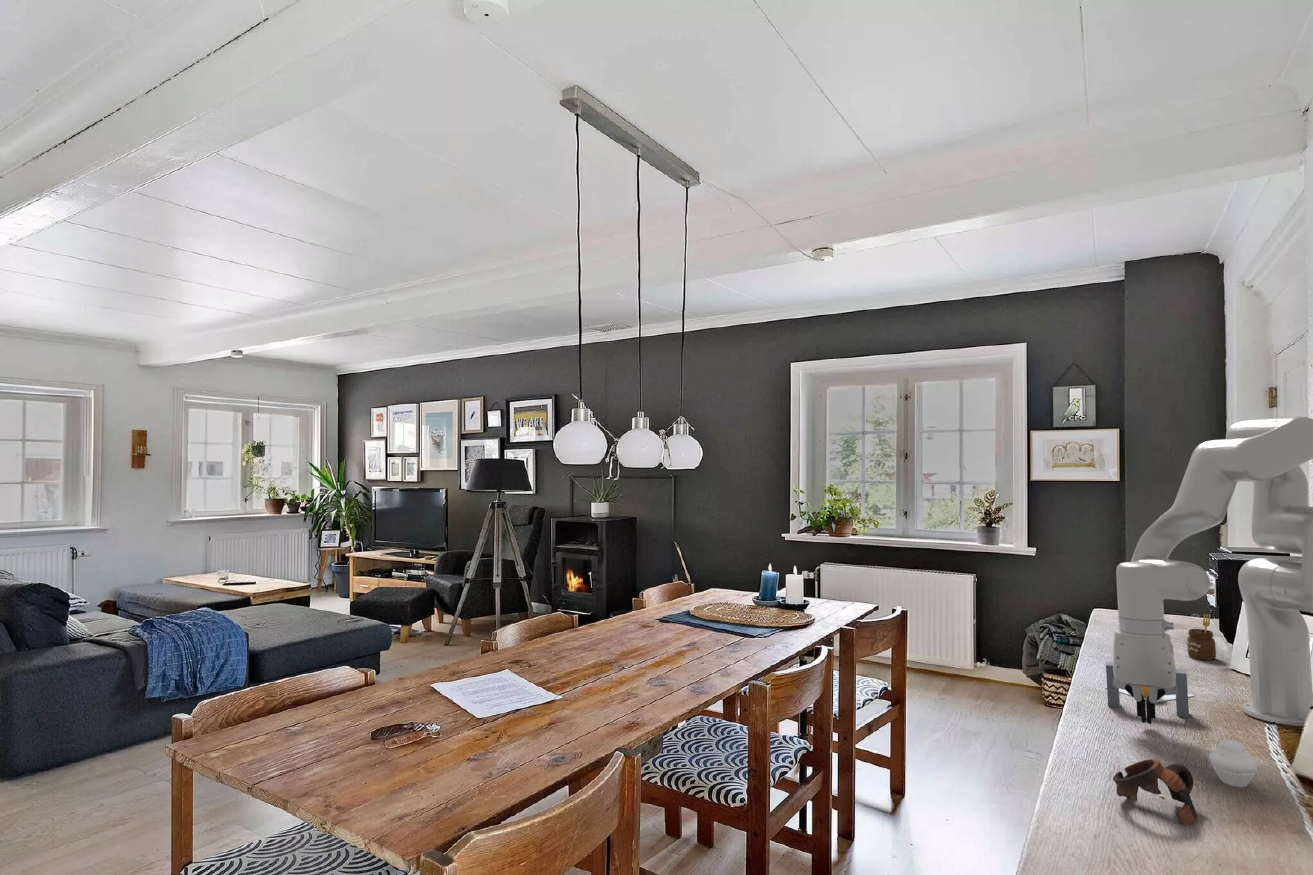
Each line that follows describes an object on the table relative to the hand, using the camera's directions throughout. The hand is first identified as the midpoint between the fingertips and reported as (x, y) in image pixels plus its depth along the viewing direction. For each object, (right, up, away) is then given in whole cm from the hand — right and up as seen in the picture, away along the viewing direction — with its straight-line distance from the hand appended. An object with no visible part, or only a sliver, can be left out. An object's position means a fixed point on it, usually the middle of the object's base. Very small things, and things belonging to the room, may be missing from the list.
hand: (1146, 721), depth 143 cm
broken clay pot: (-19, -1, -32) cm, 38 cm away
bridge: (+7, -2, +11) cm, 13 cm away
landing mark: (+15, -2, +22) cm, 27 cm away
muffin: (-2, -1, -24) cm, 25 cm away
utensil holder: (+47, -3, +48) cm, 68 cm away
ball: (+13, 0, +19) cm, 23 cm away
